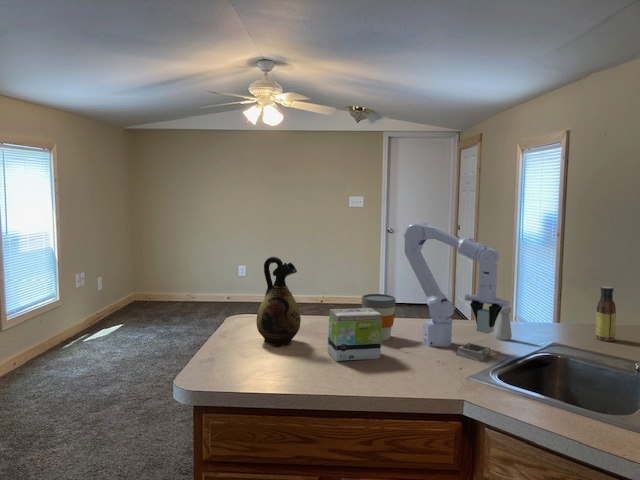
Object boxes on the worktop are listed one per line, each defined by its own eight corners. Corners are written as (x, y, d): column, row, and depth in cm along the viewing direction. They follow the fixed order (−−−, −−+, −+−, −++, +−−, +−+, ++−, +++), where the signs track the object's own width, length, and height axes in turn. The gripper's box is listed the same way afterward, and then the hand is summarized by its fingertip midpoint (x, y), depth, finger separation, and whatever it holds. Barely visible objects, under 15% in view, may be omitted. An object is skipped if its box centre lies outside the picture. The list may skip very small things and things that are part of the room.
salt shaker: (493, 341, 175) (495, 306, 174) (495, 338, 180) (497, 303, 179) (510, 344, 172) (512, 308, 171) (512, 340, 177) (514, 305, 176)
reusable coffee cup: (401, 340, 174) (402, 299, 173) (370, 343, 170) (371, 301, 168) (384, 331, 186) (385, 292, 185) (354, 334, 181) (355, 294, 180)
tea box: (336, 362, 150) (337, 316, 149) (327, 352, 160) (328, 308, 158) (381, 359, 154) (382, 313, 153) (369, 349, 164) (371, 306, 162)
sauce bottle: (609, 337, 183) (613, 285, 182) (618, 342, 177) (622, 288, 175) (591, 336, 184) (595, 285, 182) (599, 341, 178) (603, 288, 176)
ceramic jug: (308, 340, 173) (309, 256, 170) (287, 352, 159) (288, 261, 156) (267, 333, 180) (267, 253, 177) (243, 344, 166) (244, 258, 163)
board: (475, 348, 167) (476, 338, 167) (501, 354, 161) (501, 344, 160) (454, 357, 157) (455, 347, 157) (481, 364, 151) (481, 353, 150)
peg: (487, 333, 158) (489, 312, 157) (476, 331, 161) (477, 310, 160) (493, 331, 161) (494, 310, 160) (482, 328, 164) (483, 308, 163)
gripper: (514, 286, 157) (511, 327, 158) (472, 280, 167) (470, 318, 169) (504, 289, 152) (502, 331, 153) (462, 282, 162) (460, 322, 164)
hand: (485, 325), depth 161 cm, fingers closed on peg, 4 cm apart
